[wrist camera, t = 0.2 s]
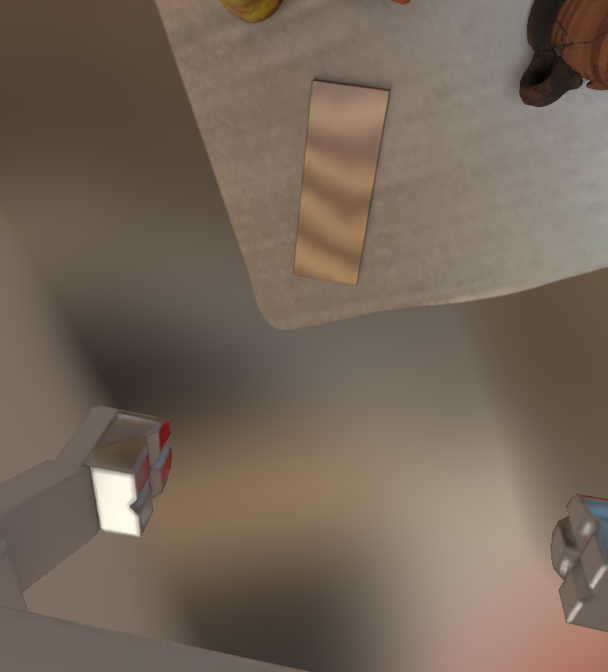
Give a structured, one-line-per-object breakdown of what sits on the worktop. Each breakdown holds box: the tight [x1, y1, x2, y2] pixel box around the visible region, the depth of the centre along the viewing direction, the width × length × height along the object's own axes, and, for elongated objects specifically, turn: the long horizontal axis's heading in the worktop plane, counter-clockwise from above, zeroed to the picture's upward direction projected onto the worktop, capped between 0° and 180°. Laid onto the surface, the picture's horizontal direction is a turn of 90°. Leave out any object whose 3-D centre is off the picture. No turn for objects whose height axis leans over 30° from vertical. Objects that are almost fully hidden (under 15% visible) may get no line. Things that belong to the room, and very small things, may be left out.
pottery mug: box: [519, 0, 608, 107], centre depth 46 cm, size 12×10×8 cm
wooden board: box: [294, 80, 389, 285], centre depth 57 cm, size 20×7×1 cm, turn 174°
